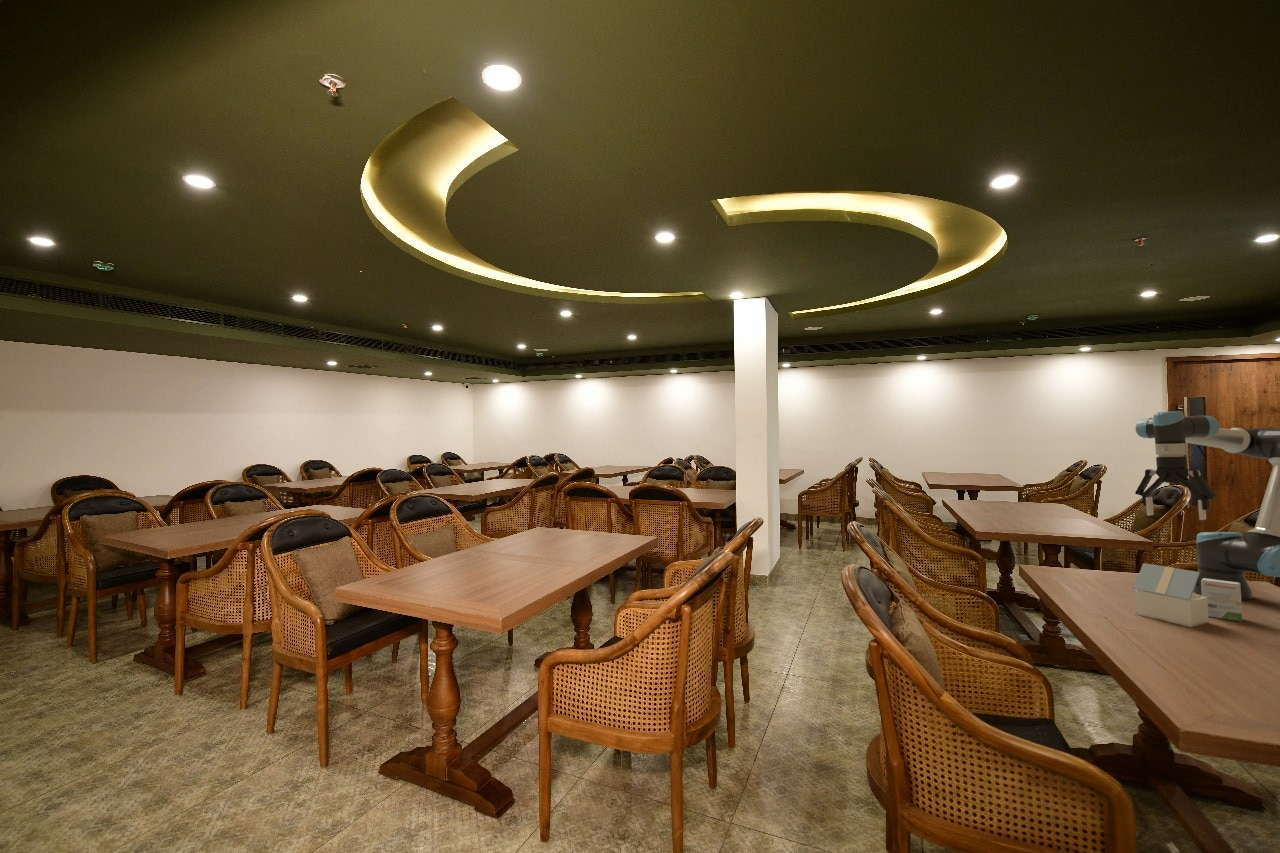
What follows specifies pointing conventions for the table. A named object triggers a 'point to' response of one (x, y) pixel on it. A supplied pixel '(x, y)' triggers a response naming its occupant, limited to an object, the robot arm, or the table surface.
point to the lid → (1166, 581)
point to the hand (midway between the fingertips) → (1175, 517)
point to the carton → (1172, 608)
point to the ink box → (1222, 599)
